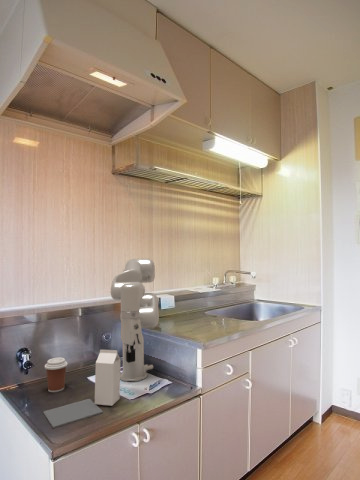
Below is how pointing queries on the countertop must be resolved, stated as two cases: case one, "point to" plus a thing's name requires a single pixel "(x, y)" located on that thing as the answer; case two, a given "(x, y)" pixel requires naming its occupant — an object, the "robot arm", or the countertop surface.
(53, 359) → the coffee cup
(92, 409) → the mat
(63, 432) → the countertop surface
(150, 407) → the countertop surface
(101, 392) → the milk carton
